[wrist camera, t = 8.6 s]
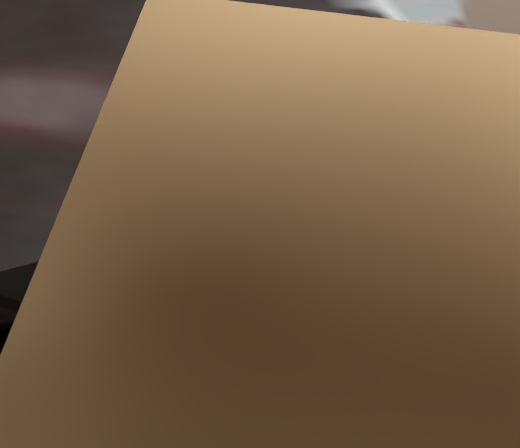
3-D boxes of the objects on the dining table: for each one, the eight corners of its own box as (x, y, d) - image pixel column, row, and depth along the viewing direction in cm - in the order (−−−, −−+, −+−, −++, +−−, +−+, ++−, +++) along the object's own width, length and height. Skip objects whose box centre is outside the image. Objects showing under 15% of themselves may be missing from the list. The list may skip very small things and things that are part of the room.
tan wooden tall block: (361, 381, 14) (699, 871, 2) (243, 343, 15) (-55, 489, 3) (386, 264, 15) (718, 57, 3) (274, 235, 16) (150, -8, 4)
